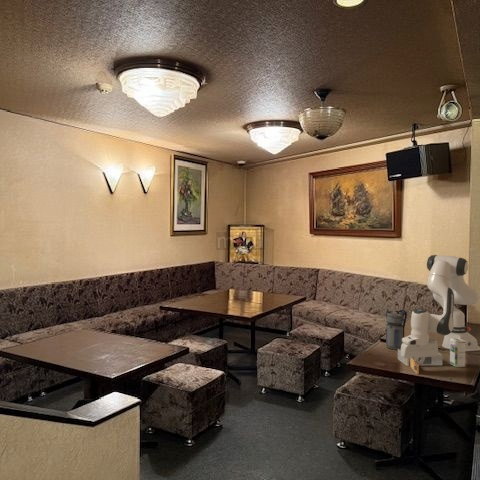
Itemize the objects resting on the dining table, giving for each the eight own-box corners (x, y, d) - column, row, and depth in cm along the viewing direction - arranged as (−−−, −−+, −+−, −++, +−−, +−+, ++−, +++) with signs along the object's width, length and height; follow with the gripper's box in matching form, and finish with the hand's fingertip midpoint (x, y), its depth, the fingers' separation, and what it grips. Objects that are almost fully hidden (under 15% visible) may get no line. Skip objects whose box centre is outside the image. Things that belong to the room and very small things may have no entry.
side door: (418, 374, 211) (418, 364, 211) (415, 374, 211) (415, 363, 211) (411, 366, 224) (411, 356, 224) (408, 365, 224) (408, 356, 224)
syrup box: (449, 363, 228) (449, 338, 227) (459, 363, 228) (459, 337, 228) (455, 367, 222) (455, 340, 222) (465, 366, 223) (466, 340, 222)
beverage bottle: (409, 350, 253) (409, 310, 252) (387, 350, 254) (387, 310, 253) (403, 345, 263) (404, 307, 263) (382, 345, 264) (383, 307, 264)
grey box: (429, 357, 239) (429, 346, 239) (442, 365, 225) (442, 353, 225) (396, 357, 238) (396, 346, 238) (406, 365, 224) (406, 354, 224)
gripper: (433, 337, 221) (433, 362, 222) (399, 338, 218) (398, 364, 218) (441, 340, 215) (440, 366, 215) (405, 342, 212) (405, 368, 212)
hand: (419, 365), depth 217 cm, fingers closed
